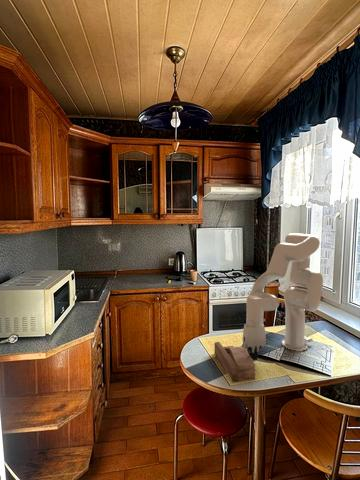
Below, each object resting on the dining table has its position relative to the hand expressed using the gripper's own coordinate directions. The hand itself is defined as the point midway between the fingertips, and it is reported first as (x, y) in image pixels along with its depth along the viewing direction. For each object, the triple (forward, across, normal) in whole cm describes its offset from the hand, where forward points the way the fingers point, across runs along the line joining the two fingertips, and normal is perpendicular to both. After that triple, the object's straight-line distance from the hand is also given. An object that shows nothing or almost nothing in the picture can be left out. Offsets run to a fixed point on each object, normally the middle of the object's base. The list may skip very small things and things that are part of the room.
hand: (254, 359), depth 127 cm
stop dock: (+2, +10, 0) cm, 10 cm away
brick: (+2, +6, 0) cm, 7 cm away
